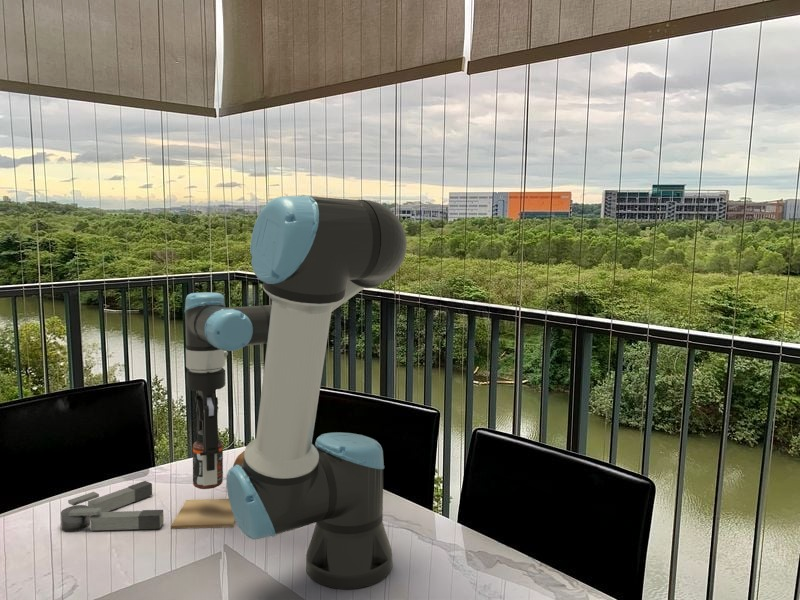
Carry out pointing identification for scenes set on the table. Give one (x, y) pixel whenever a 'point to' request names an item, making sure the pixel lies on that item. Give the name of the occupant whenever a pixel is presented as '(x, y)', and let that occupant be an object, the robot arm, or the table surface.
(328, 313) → the robot arm
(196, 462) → the supplement bottle
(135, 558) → the table surface
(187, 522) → the cork mat
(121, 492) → the tong jaw
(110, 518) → the tongs base
